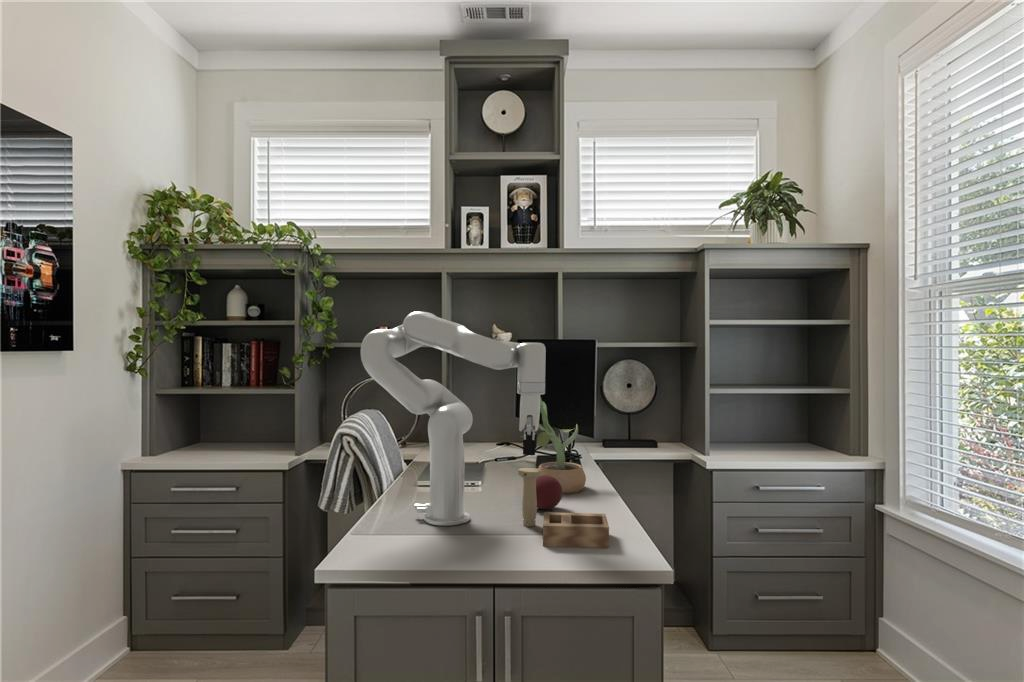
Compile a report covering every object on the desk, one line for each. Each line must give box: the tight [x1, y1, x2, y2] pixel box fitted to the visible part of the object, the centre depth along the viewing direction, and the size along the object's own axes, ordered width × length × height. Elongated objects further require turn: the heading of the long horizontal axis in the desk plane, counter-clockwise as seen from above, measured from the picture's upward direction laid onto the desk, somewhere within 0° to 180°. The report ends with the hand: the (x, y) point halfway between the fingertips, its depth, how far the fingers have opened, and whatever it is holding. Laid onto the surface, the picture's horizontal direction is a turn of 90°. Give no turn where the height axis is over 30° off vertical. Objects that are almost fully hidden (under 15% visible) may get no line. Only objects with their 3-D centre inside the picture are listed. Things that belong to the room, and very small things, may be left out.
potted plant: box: [518, 398, 587, 495], centre depth 219 cm, size 22×18×30 cm
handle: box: [517, 467, 541, 527], centre depth 175 cm, size 5×6×15 cm
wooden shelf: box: [542, 511, 610, 549], centre depth 164 cm, size 16×12×5 cm
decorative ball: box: [536, 475, 563, 511], centre depth 192 cm, size 10×10×10 cm
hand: (529, 451), depth 175 cm, fingers open, 9 cm apart
